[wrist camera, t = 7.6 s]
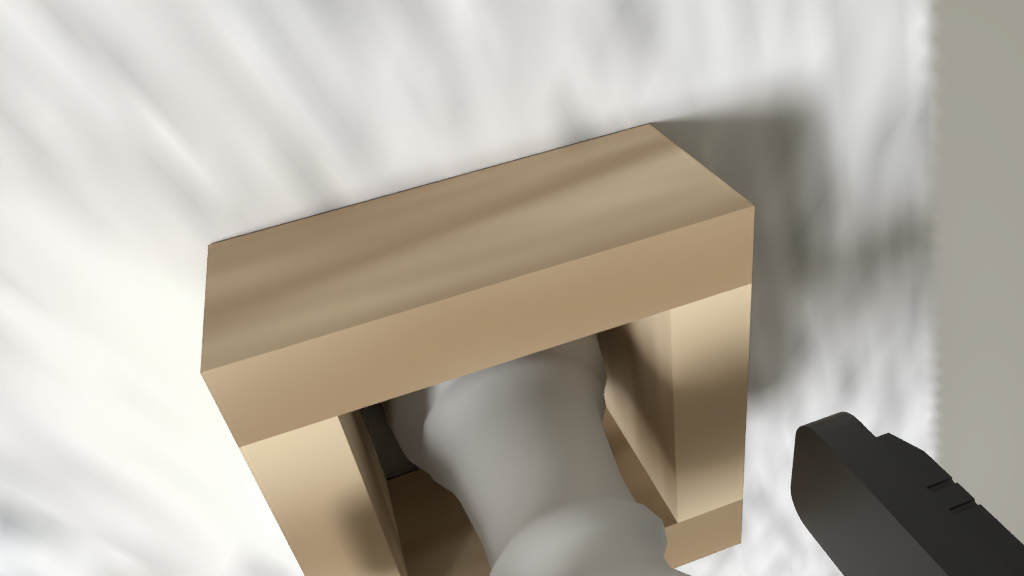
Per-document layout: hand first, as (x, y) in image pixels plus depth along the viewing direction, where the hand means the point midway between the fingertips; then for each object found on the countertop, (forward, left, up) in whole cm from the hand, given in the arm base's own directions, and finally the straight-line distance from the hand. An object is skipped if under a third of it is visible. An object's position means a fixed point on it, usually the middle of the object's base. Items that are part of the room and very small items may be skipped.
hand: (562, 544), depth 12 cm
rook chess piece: (0, 0, -5) cm, 5 cm away
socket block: (0, 0, -5) cm, 5 cm away
